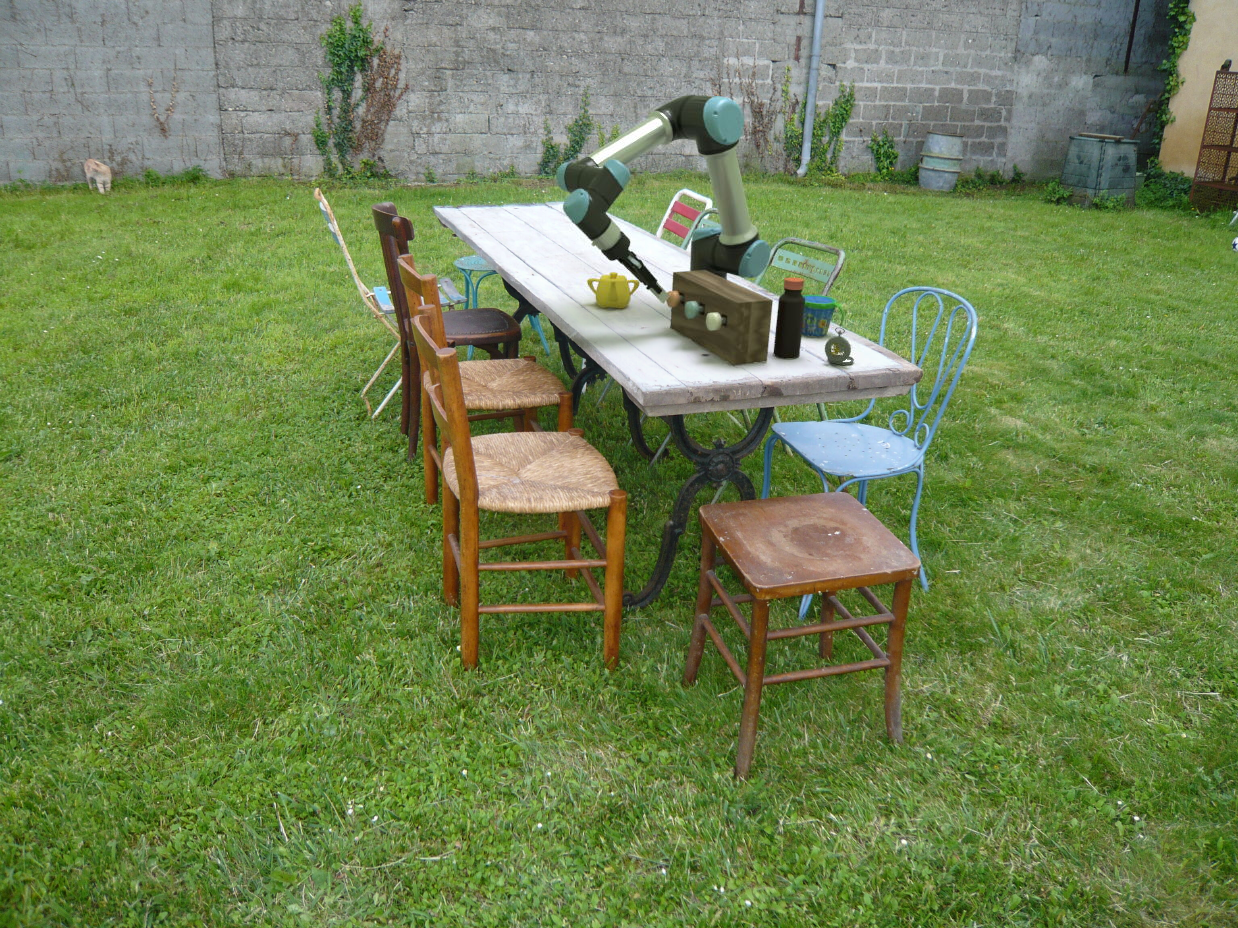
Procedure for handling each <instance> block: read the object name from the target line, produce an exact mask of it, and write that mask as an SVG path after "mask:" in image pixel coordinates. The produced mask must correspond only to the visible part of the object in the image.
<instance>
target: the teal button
mask: <svg viewBox="0 0 1238 928" xmlns="http://www.w3.org/2000/svg"><path fill="white" fill-rule="evenodd" d="M699 312H705V306H698V303H697V302H696V301H690V302H686V304H685V315H686V317H687V318H688V319H690V318H697V317H698V315H699Z"/></svg>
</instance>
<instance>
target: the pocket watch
mask: <svg viewBox="0 0 1238 928" xmlns="http://www.w3.org/2000/svg"><path fill="white" fill-rule="evenodd" d="M838 329H841V330H839V331H838ZM834 330H835V332H836V333H837V334H838V335H836V336H832V337H830V338H829V339H828V340H827V342H826V343H825V345H824V353H825V355H826V357H827V360H828V362H829V363H833V364H834V363H836V364H835V365H841V364H847V365H851V364H853V363H854V360H855V358H853V357H852V356H851V352H852V346H851V344H850V342H849V340H848V339H846V338H845V337H843V336H842V335H843V334H845V333H846V330H845V328H842V327H840V326H839V327H836V328H834ZM842 330H843V332H842ZM846 359H847V360H851V361H850V362H843V361H845V360H846Z"/></svg>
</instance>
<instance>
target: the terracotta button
mask: <svg viewBox="0 0 1238 928" xmlns="http://www.w3.org/2000/svg"><path fill="white" fill-rule="evenodd" d="M666 292H667V293H668V294H669V296H670V297H669V298H668V299H667V300H666V302H665V303H666V305H667V307H669V308H671V307H678V306H679V303H680V301H684V295H681V296H679V293H678V292H677V291H672V290H669V291H666Z"/></svg>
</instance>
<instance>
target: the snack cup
mask: <svg viewBox="0 0 1238 928" xmlns="http://www.w3.org/2000/svg"><path fill="white" fill-rule="evenodd" d="M802 296H803V297H804V298H805V309H804V318H803V327H802V335H804V336H806V337H807V336H808V337H817V338H822V337H825V336H827V335H828V332H829V329H830V325H831V321H832V318H833V315H834V312H835V310H836V308H838V310H839V312H840V314H841V319H840V324H838V325H839V328H842V327H841V326H843V323H844V320H845V310H844V308H843V306H842V304H840V303H839V302H838V301H837V299H835V298H834V297H830V296H827V295H820V294H804V295H803V294H802Z"/></svg>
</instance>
